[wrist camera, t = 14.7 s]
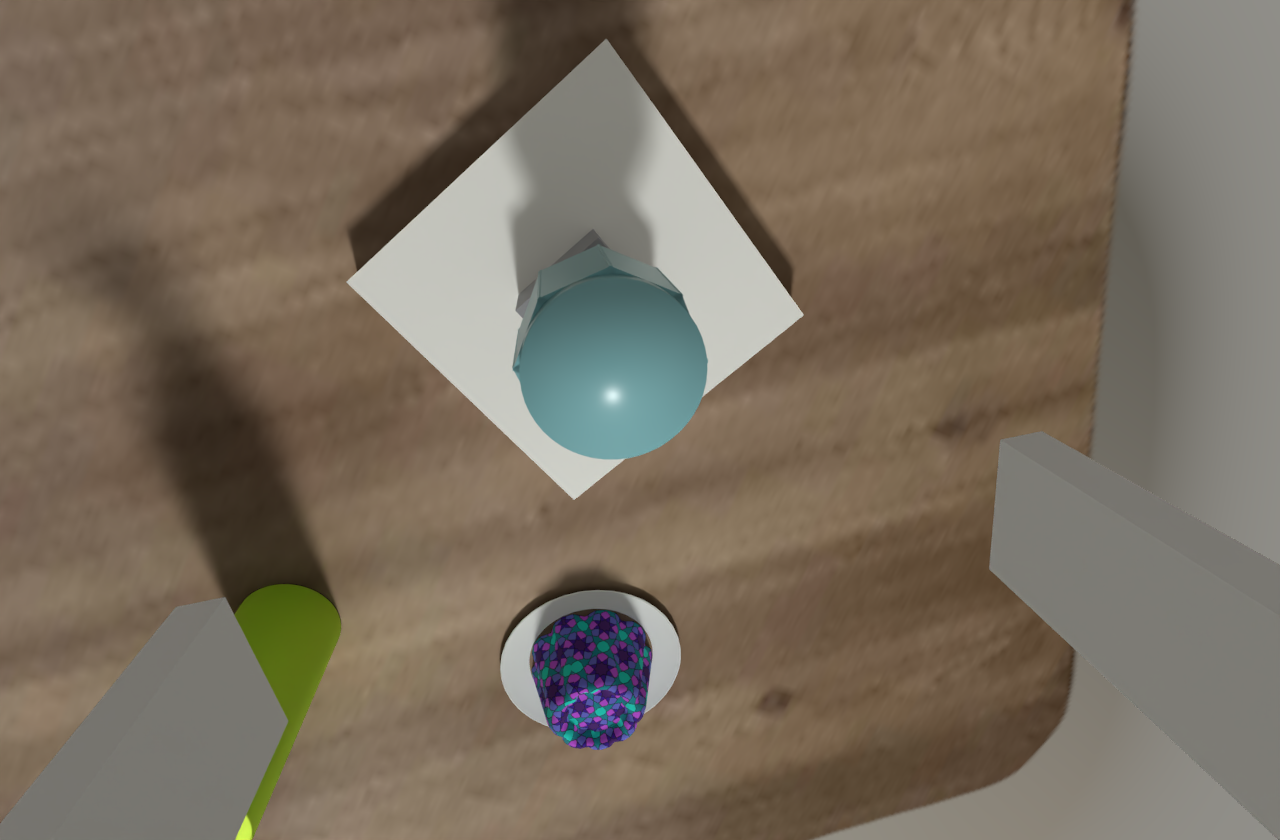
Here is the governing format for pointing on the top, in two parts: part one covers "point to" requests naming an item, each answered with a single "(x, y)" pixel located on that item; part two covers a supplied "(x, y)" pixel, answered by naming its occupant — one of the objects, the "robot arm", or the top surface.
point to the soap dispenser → (287, 665)
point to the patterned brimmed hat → (591, 666)
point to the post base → (570, 248)
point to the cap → (609, 356)
